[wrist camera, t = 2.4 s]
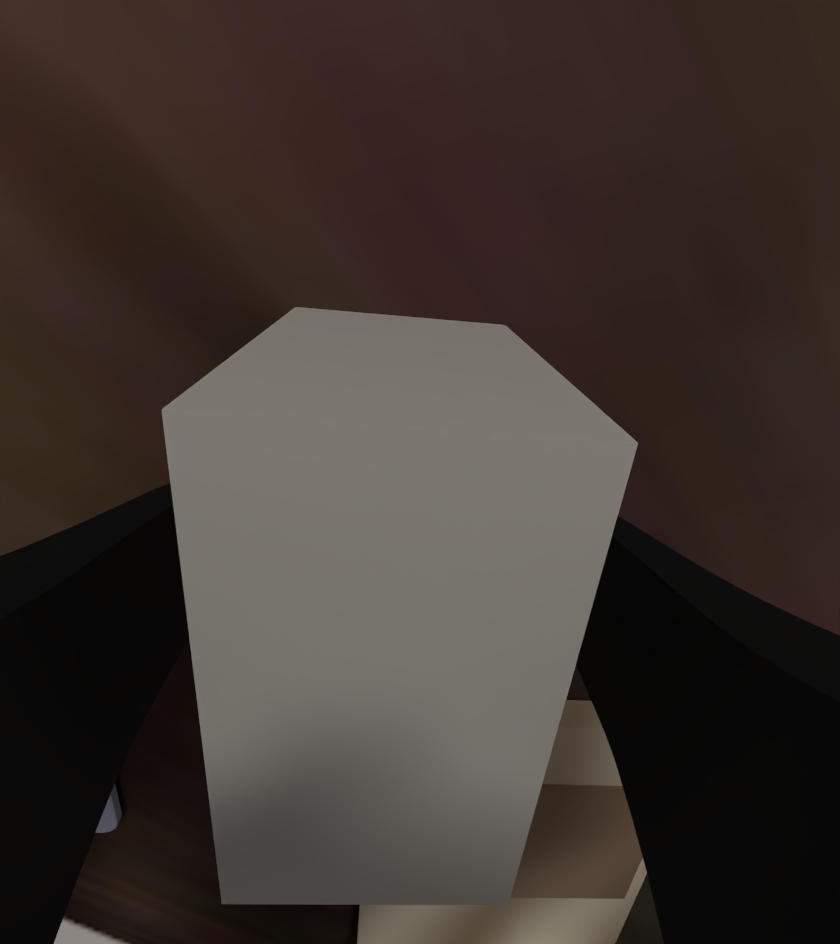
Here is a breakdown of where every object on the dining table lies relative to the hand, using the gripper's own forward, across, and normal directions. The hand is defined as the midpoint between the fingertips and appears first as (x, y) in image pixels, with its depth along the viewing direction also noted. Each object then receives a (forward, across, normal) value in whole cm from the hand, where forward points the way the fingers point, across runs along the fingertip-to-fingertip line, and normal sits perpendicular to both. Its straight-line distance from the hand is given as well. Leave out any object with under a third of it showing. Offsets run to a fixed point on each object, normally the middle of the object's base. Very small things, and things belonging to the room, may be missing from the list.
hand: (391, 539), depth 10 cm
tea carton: (+3, 0, 0) cm, 3 cm away
